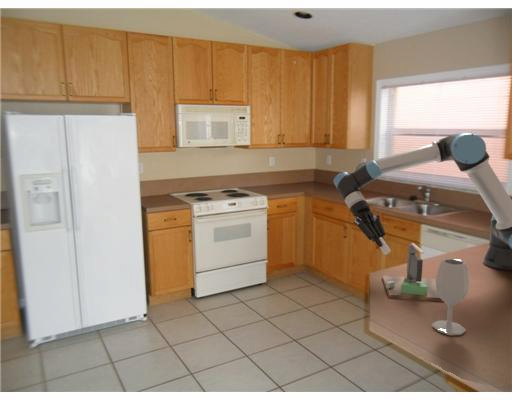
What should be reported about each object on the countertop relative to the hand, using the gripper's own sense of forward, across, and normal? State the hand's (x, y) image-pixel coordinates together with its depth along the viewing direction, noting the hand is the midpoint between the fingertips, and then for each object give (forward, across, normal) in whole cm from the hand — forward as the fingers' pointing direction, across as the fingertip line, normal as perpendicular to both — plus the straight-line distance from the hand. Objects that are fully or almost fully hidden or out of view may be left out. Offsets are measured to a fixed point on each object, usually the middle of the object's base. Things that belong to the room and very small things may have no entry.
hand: (387, 253), depth 159 cm
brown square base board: (+16, -2, -1) cm, 16 cm away
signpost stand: (+15, -3, 0) cm, 15 cm away
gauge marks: (+16, +3, +1) cm, 16 cm away
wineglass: (+35, +15, +17) cm, 42 cm away
